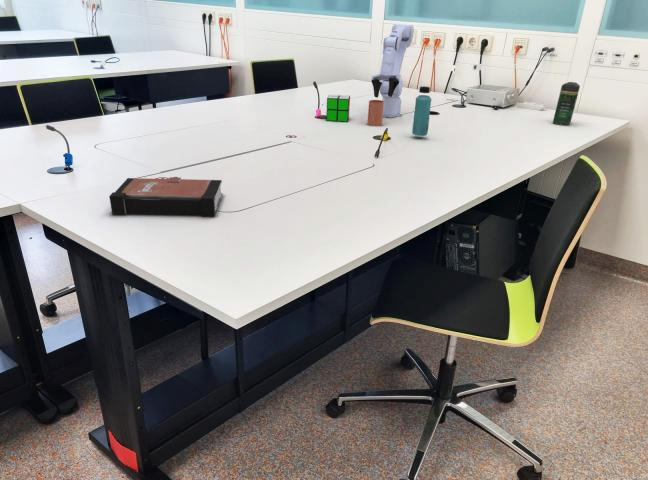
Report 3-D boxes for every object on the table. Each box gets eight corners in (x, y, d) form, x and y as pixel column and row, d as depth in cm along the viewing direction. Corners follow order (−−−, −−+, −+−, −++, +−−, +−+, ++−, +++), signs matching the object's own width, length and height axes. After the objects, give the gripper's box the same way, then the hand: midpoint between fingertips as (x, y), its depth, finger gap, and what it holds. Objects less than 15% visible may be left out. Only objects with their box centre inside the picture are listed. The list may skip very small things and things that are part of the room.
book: (223, 194, 156) (222, 177, 153) (214, 216, 141) (213, 198, 138) (130, 192, 154) (128, 175, 152) (112, 214, 139) (109, 196, 137)
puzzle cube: (349, 117, 256) (350, 95, 251) (347, 122, 248) (349, 99, 243) (327, 116, 257) (328, 94, 252) (326, 120, 248) (326, 97, 243)
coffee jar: (568, 126, 255) (579, 84, 246) (551, 124, 258) (561, 82, 249) (571, 122, 262) (582, 82, 253) (554, 120, 265) (564, 80, 256)
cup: (373, 122, 249) (375, 99, 244) (385, 124, 245) (387, 101, 240) (364, 124, 245) (365, 100, 240) (376, 126, 241) (378, 103, 236)
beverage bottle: (426, 140, 222) (433, 88, 212) (410, 138, 223) (416, 87, 213) (427, 136, 227) (433, 86, 217) (411, 135, 228) (417, 85, 218)
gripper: (369, 63, 243) (364, 94, 245) (396, 61, 234) (391, 93, 236) (378, 68, 248) (373, 99, 250) (405, 66, 239) (400, 97, 241)
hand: (382, 96), depth 243 cm, fingers open, 7 cm apart
